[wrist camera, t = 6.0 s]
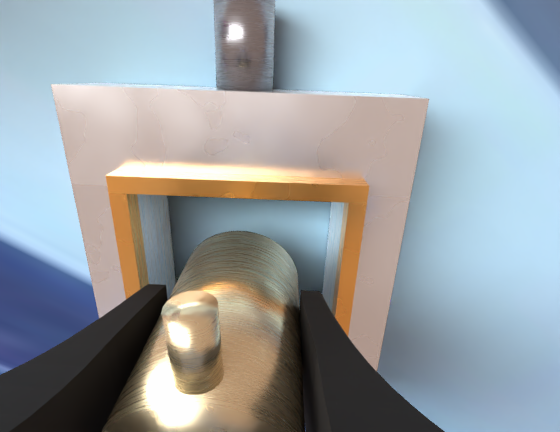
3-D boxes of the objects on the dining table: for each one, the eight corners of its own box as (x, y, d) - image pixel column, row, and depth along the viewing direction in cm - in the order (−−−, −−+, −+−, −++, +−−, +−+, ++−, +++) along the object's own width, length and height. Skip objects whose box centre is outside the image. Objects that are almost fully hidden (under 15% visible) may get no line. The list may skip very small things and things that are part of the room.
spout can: (296, 326, 14) (305, 596, 7) (190, 323, 14) (93, 589, 7) (301, 189, 12) (323, 394, 5) (173, 187, 12) (-5, 385, 5)
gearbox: (357, 361, 19) (373, 427, 15) (141, 352, 19) (107, 416, 15) (413, 6, 12) (463, -21, 9) (85, -6, 12) (6, -38, 9)
